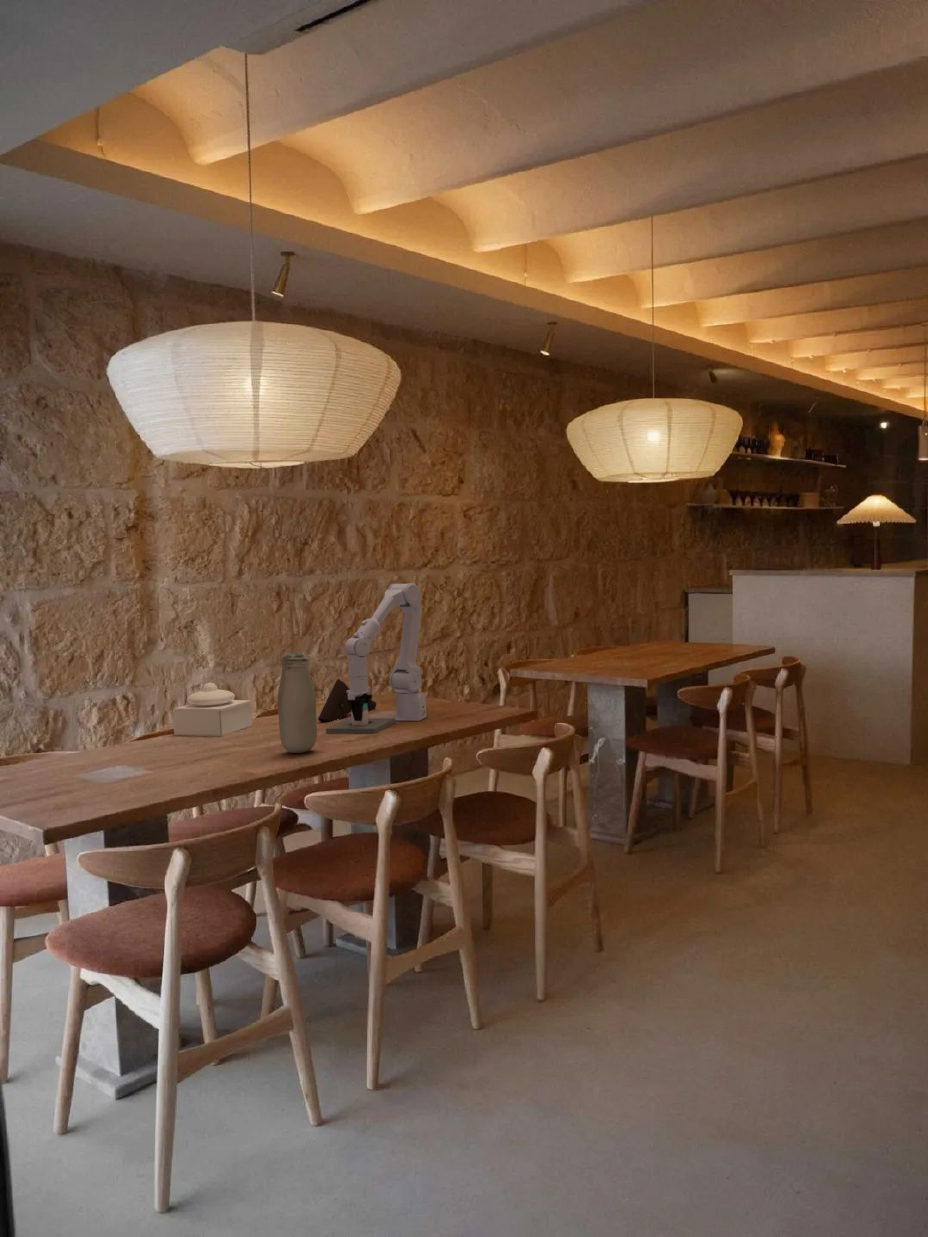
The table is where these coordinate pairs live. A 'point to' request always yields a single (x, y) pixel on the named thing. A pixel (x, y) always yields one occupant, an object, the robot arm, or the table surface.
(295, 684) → the glass bottle
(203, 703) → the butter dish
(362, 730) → the port plate
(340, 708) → the holster
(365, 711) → the plug
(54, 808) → the table surface
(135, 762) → the table surface
